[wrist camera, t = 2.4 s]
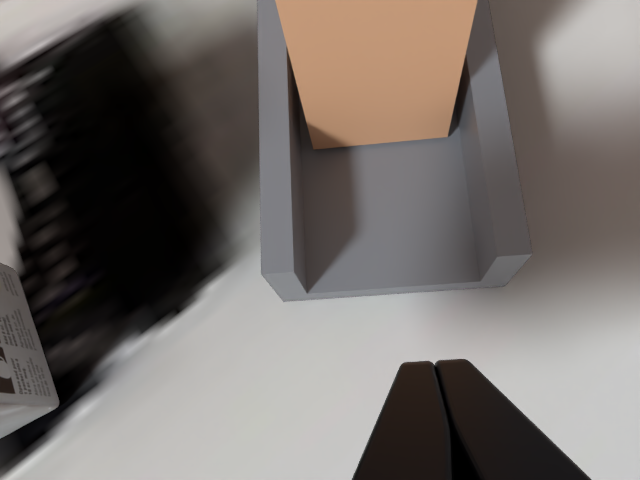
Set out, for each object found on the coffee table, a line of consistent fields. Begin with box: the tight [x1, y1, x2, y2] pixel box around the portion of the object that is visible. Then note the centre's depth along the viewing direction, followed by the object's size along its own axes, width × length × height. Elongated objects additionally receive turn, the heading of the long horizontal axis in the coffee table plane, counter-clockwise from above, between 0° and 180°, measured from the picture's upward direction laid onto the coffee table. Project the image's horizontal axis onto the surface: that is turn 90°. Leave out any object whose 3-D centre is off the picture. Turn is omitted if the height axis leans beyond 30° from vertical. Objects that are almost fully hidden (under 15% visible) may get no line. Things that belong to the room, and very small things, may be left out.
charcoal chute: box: [257, 0, 532, 302], centre depth 21 cm, size 16×8×4 cm, turn 3°
